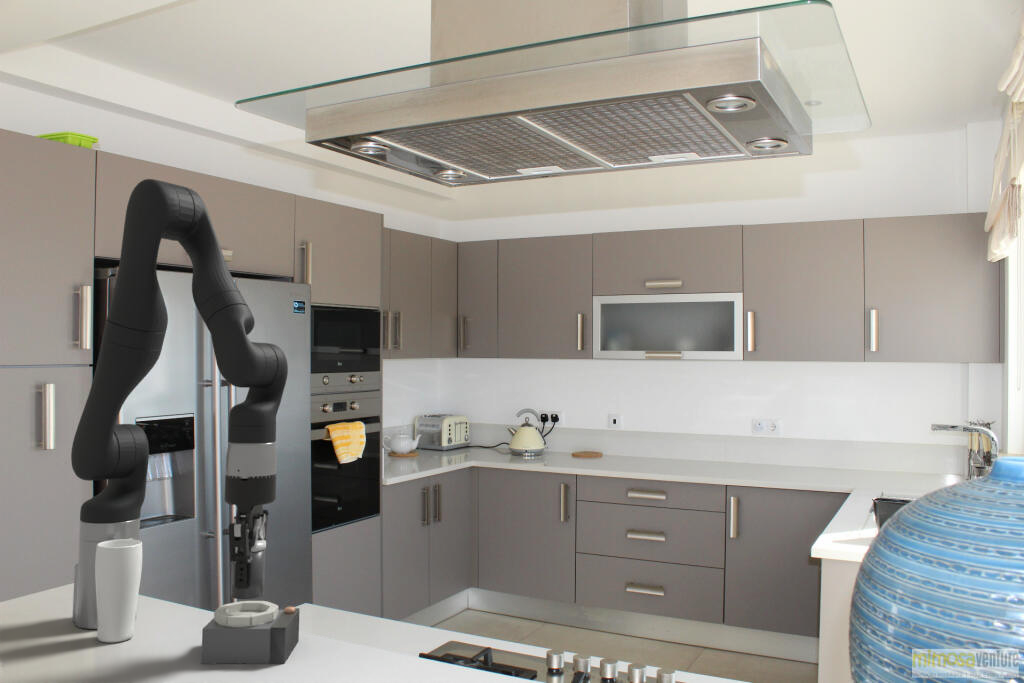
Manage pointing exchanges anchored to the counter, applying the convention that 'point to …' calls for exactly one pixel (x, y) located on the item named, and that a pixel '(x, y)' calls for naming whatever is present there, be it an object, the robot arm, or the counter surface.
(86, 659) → the counter surface
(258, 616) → the block with octagonal ring
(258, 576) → the dark capped cylinder
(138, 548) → the drinking glass
